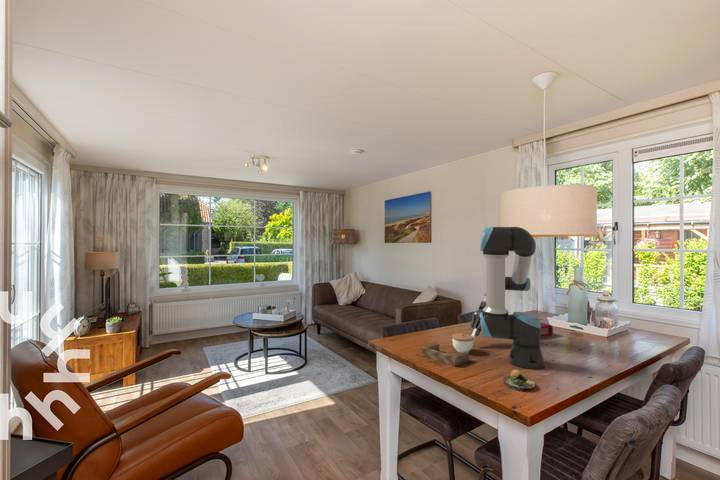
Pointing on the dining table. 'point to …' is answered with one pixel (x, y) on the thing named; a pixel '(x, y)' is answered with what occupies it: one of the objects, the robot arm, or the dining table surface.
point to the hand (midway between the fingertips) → (472, 339)
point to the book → (546, 330)
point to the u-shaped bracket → (444, 355)
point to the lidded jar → (462, 342)
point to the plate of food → (517, 381)
